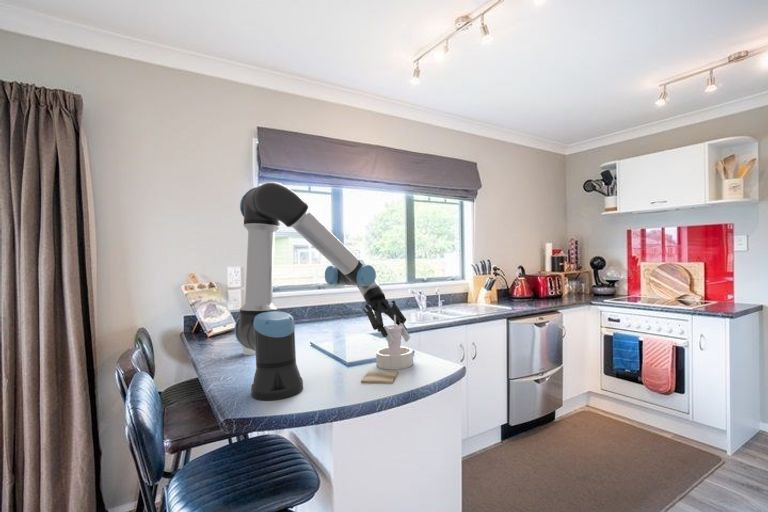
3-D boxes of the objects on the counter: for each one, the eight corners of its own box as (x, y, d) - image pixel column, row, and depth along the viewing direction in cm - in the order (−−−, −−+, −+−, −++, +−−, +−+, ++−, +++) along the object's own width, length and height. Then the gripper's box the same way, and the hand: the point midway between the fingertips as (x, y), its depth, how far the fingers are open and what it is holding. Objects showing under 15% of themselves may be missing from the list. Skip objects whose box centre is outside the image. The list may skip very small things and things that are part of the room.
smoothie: (396, 357, 133) (395, 317, 133) (382, 354, 137) (381, 315, 136) (406, 352, 138) (405, 314, 138) (392, 350, 142) (391, 312, 142)
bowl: (403, 371, 128) (403, 357, 128) (370, 367, 134) (369, 354, 134) (418, 360, 140) (417, 347, 140) (386, 358, 146) (386, 345, 146)
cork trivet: (392, 383, 117) (392, 381, 117) (361, 382, 119) (360, 380, 119) (398, 373, 127) (398, 371, 127) (369, 372, 129) (369, 370, 129)
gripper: (388, 296, 155) (416, 342, 142) (347, 302, 144) (373, 352, 131) (395, 283, 151) (425, 330, 138) (353, 288, 140) (381, 339, 127)
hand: (400, 341), depth 135 cm, fingers closed on smoothie, 6 cm apart
